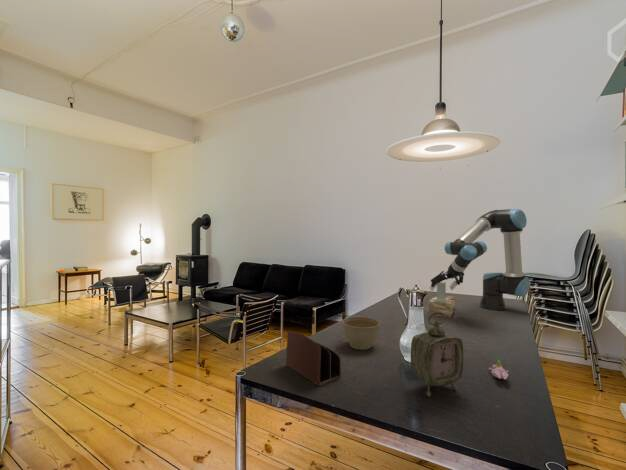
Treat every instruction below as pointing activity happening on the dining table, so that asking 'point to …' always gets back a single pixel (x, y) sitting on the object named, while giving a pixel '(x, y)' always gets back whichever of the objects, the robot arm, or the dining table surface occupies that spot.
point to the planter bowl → (360, 331)
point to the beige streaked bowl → (441, 307)
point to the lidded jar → (450, 298)
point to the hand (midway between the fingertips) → (441, 288)
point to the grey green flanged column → (441, 293)
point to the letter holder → (312, 359)
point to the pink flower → (499, 371)
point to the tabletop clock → (437, 356)
